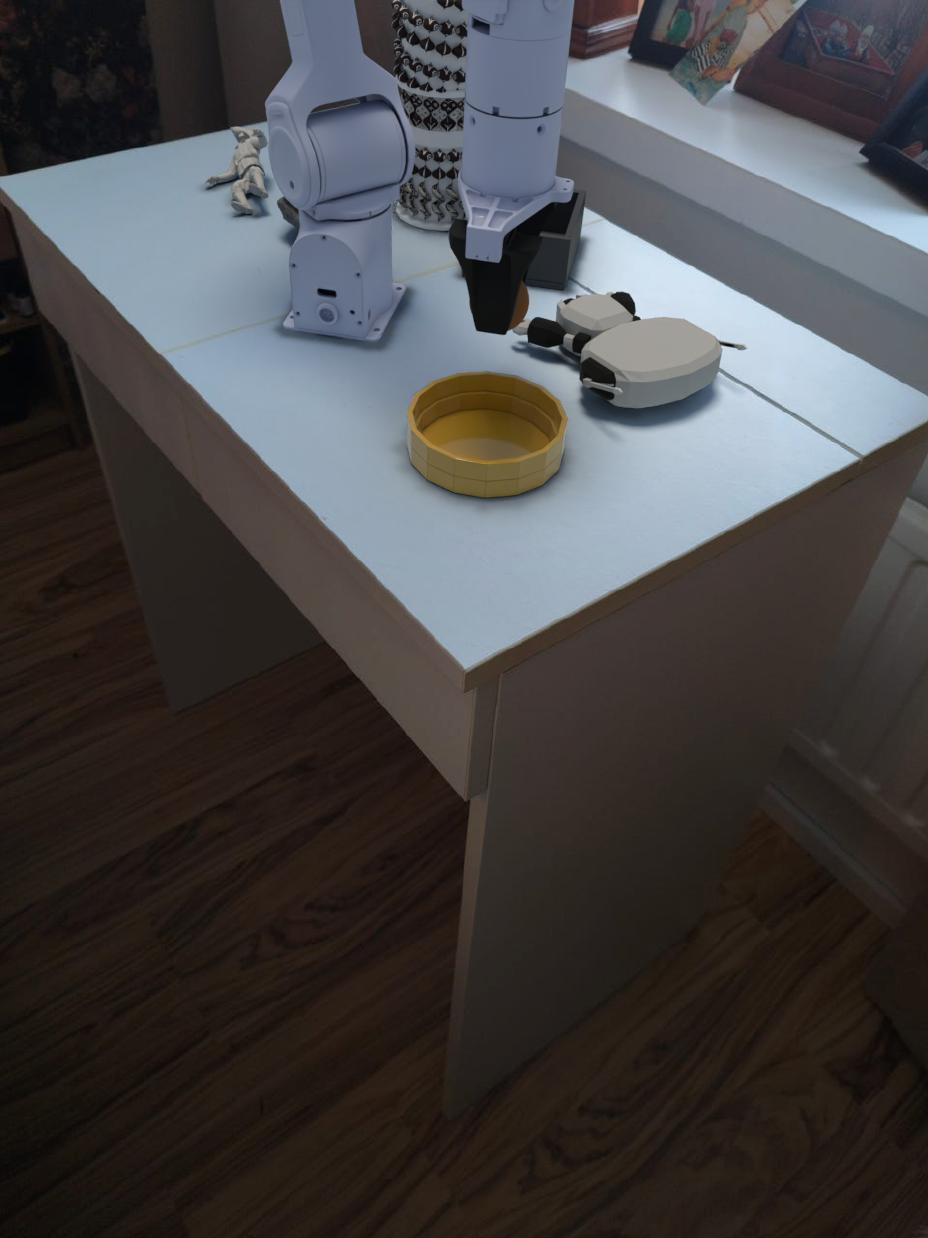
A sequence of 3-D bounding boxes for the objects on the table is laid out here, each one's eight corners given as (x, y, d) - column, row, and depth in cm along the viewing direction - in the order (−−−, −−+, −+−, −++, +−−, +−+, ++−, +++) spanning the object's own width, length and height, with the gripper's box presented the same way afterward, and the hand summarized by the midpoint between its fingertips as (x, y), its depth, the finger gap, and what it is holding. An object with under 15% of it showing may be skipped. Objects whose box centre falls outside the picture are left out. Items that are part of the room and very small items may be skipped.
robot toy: (499, 358, 81) (619, 443, 72) (501, 304, 78) (626, 386, 69) (617, 320, 86) (743, 395, 77) (623, 269, 83) (755, 340, 74)
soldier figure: (210, 226, 96) (188, 139, 101) (249, 250, 100) (226, 165, 104) (264, 172, 92) (239, 84, 97) (302, 198, 96) (277, 113, 101)
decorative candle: (497, 199, 100) (518, -106, 82) (471, 239, 94) (488, -82, 76) (410, 184, 102) (411, -118, 84) (379, 222, 96) (373, -95, 78)
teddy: (520, 347, 67) (530, 249, 62) (462, 338, 68) (466, 240, 63) (531, 318, 70) (540, 222, 65) (474, 309, 70) (480, 213, 66)
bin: (564, 290, 88) (570, 239, 85) (461, 275, 89) (463, 224, 86) (580, 239, 95) (586, 190, 92) (484, 226, 96) (487, 177, 93)
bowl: (548, 513, 67) (553, 474, 64) (390, 486, 68) (389, 447, 66) (571, 422, 74) (576, 384, 72) (428, 399, 75) (428, 361, 73)
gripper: (563, 157, 53) (538, 381, 63) (598, 68, 63) (572, 273, 73) (432, 139, 54) (427, 363, 63) (487, 54, 64) (476, 259, 73)
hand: (497, 314), depth 68 cm, fingers closed on teddy, 4 cm apart
